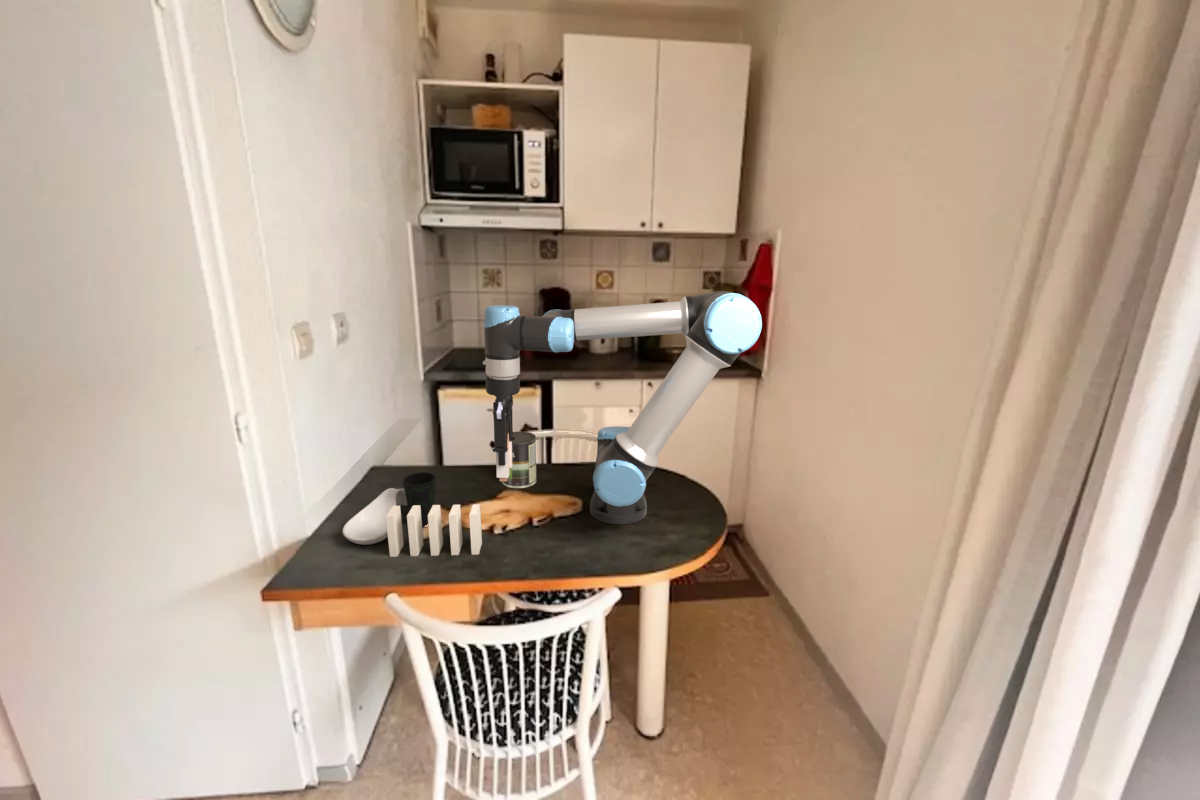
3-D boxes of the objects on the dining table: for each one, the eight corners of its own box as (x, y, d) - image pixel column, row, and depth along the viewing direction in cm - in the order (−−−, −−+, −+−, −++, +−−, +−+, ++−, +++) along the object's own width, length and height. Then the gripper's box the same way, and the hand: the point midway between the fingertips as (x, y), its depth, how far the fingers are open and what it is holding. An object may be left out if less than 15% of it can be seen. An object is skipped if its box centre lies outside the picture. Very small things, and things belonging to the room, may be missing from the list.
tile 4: (423, 544, 122) (420, 505, 119) (417, 556, 117) (414, 515, 115) (416, 544, 122) (413, 505, 119) (410, 556, 117) (406, 515, 114)
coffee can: (514, 491, 150) (513, 445, 146) (495, 480, 157) (493, 436, 153) (543, 482, 156) (543, 437, 153) (524, 471, 164) (522, 429, 160)
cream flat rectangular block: (403, 544, 122) (400, 505, 119) (397, 556, 117) (393, 516, 114) (396, 544, 122) (392, 505, 119) (389, 556, 117) (385, 516, 114)
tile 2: (462, 543, 123) (460, 504, 120) (458, 555, 118) (456, 514, 115) (455, 543, 123) (453, 504, 120) (451, 555, 118) (448, 515, 115)
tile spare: (509, 472, 126) (508, 433, 123) (506, 481, 121) (505, 440, 118) (502, 472, 126) (502, 433, 123) (499, 481, 121) (498, 440, 118)
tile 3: (443, 543, 122) (440, 504, 120) (438, 555, 117) (435, 515, 115) (436, 543, 122) (433, 505, 120) (431, 555, 117) (427, 515, 115)
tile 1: (482, 542, 123) (480, 504, 120) (478, 554, 118) (476, 514, 115) (475, 543, 123) (473, 504, 120) (471, 554, 118) (469, 514, 115)
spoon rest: (384, 553, 119) (381, 524, 117) (334, 551, 119) (330, 522, 117) (424, 505, 141) (422, 481, 139) (382, 503, 142) (379, 479, 140)
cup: (406, 517, 134) (402, 474, 131) (437, 513, 137) (434, 470, 133) (407, 532, 127) (402, 486, 124) (439, 527, 130) (436, 482, 127)
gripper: (492, 367, 125) (494, 457, 132) (477, 385, 108) (481, 488, 114) (524, 367, 126) (524, 458, 132) (514, 385, 108) (515, 488, 115)
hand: (504, 471), depth 123 cm, fingers closed on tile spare, 5 cm apart
